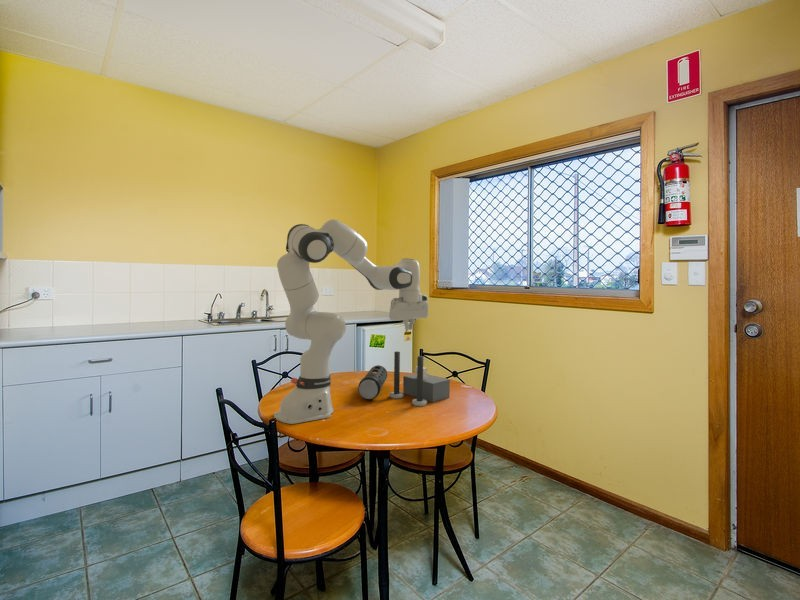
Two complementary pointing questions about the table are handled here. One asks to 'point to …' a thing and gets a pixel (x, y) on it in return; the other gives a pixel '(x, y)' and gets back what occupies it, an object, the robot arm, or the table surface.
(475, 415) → the table surface
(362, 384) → the muzzle brake
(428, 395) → the box
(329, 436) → the table surface
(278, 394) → the table surface
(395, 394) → the post
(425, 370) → the breaker switch
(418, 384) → the right cord post
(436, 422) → the table surface
